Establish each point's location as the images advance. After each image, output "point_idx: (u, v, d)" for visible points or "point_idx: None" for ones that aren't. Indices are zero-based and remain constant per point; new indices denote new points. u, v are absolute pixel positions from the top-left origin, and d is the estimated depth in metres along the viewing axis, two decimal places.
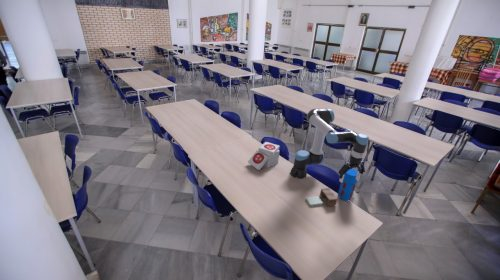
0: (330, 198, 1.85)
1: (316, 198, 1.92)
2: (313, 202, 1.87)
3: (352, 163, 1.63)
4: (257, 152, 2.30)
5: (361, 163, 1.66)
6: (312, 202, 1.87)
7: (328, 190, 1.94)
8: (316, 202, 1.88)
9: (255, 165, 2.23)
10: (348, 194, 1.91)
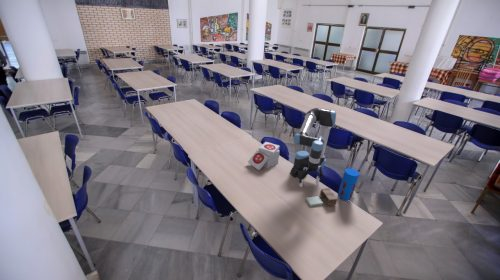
0: (330, 198, 1.85)
1: (316, 198, 1.92)
2: (313, 202, 1.87)
3: (310, 168, 1.70)
4: (257, 152, 2.30)
5: (319, 168, 1.73)
6: (312, 202, 1.87)
7: (328, 190, 1.94)
8: (316, 202, 1.88)
9: (255, 165, 2.23)
10: (348, 194, 1.91)
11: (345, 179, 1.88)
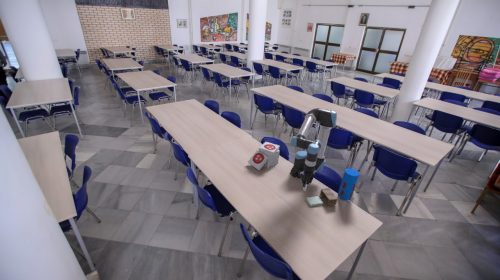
0: (330, 198, 1.85)
1: (316, 198, 1.92)
2: (313, 202, 1.87)
3: (305, 171, 1.71)
4: (257, 152, 2.30)
5: (314, 172, 1.75)
6: (312, 202, 1.87)
7: (328, 190, 1.94)
8: (316, 202, 1.88)
9: (255, 165, 2.23)
10: (348, 194, 1.91)
11: (345, 179, 1.88)
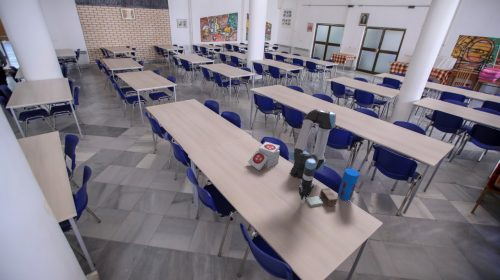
0: (330, 198, 1.85)
1: (316, 198, 1.92)
2: (313, 202, 1.87)
3: (303, 184, 1.77)
4: (257, 152, 2.30)
5: (311, 186, 1.81)
6: (312, 202, 1.87)
7: (328, 190, 1.94)
8: (317, 202, 1.88)
9: (255, 165, 2.23)
10: (348, 194, 1.91)
11: (345, 179, 1.88)
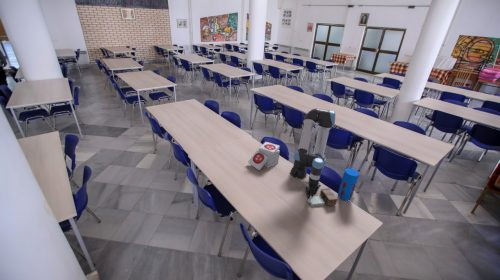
0: (330, 198, 1.85)
1: (318, 198, 1.92)
2: (315, 202, 1.87)
3: (310, 184, 1.79)
4: (257, 152, 2.30)
5: (318, 185, 1.82)
6: (314, 202, 1.87)
7: (328, 190, 1.94)
8: (318, 202, 1.88)
9: (255, 165, 2.23)
10: (348, 194, 1.91)
11: (345, 179, 1.88)
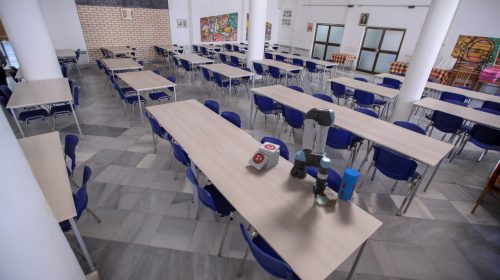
0: (330, 198, 1.85)
1: (325, 197, 1.93)
2: (322, 201, 1.89)
3: (317, 183, 1.80)
4: (257, 152, 2.30)
5: (325, 184, 1.83)
6: (321, 201, 1.89)
7: (328, 190, 1.94)
8: (325, 201, 1.89)
9: (255, 165, 2.23)
10: (348, 194, 1.91)
11: (345, 179, 1.88)
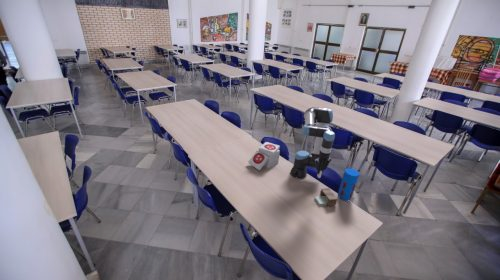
0: (330, 198, 1.85)
1: (325, 197, 1.93)
2: (322, 201, 1.89)
3: (320, 158, 1.74)
4: (257, 152, 2.30)
5: (328, 159, 1.77)
6: (321, 201, 1.89)
7: (328, 190, 1.94)
8: (325, 201, 1.89)
9: (255, 165, 2.23)
10: (348, 194, 1.91)
11: (345, 179, 1.88)
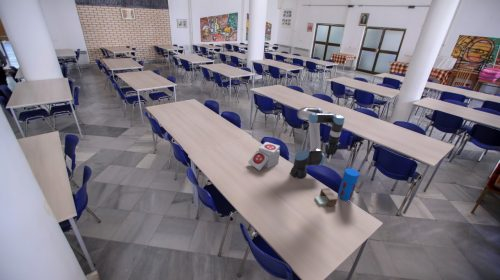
0: (330, 198, 1.85)
1: (325, 197, 1.93)
2: (322, 201, 1.89)
3: (330, 142, 1.81)
4: (257, 152, 2.30)
5: (338, 144, 1.84)
6: (321, 201, 1.89)
7: (328, 190, 1.94)
8: (325, 201, 1.89)
9: (255, 165, 2.23)
10: (348, 194, 1.91)
11: (345, 179, 1.88)
